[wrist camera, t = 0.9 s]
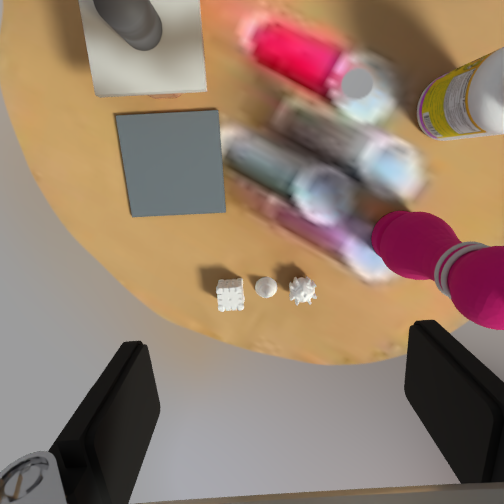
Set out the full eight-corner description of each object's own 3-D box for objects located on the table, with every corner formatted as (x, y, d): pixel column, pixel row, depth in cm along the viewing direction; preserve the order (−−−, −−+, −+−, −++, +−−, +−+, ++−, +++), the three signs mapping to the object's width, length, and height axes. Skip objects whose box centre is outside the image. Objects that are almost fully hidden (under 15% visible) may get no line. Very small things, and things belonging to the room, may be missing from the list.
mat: (117, 116, 33) (115, 115, 33) (218, 110, 33) (217, 110, 33) (133, 216, 36) (132, 217, 36) (225, 211, 36) (225, 212, 36)
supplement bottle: (484, 79, 32) (628, 29, 20) (463, 145, 34) (583, 136, 22) (423, 69, 32) (532, 12, 20) (405, 136, 34) (494, 121, 22)
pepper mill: (418, 266, 38) (587, 371, 19) (361, 261, 38) (475, 363, 19) (433, 208, 36) (638, 262, 17) (373, 203, 36) (512, 252, 17)
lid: (77, -34, 26) (28, -90, 20) (196, -41, 26) (180, -99, 20) (100, 97, 29) (62, 81, 23) (207, 91, 28) (196, 74, 23)
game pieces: (221, 301, 40) (218, 312, 37) (218, 277, 39) (215, 287, 36) (313, 295, 40) (318, 306, 36) (313, 271, 39) (317, 281, 36)
